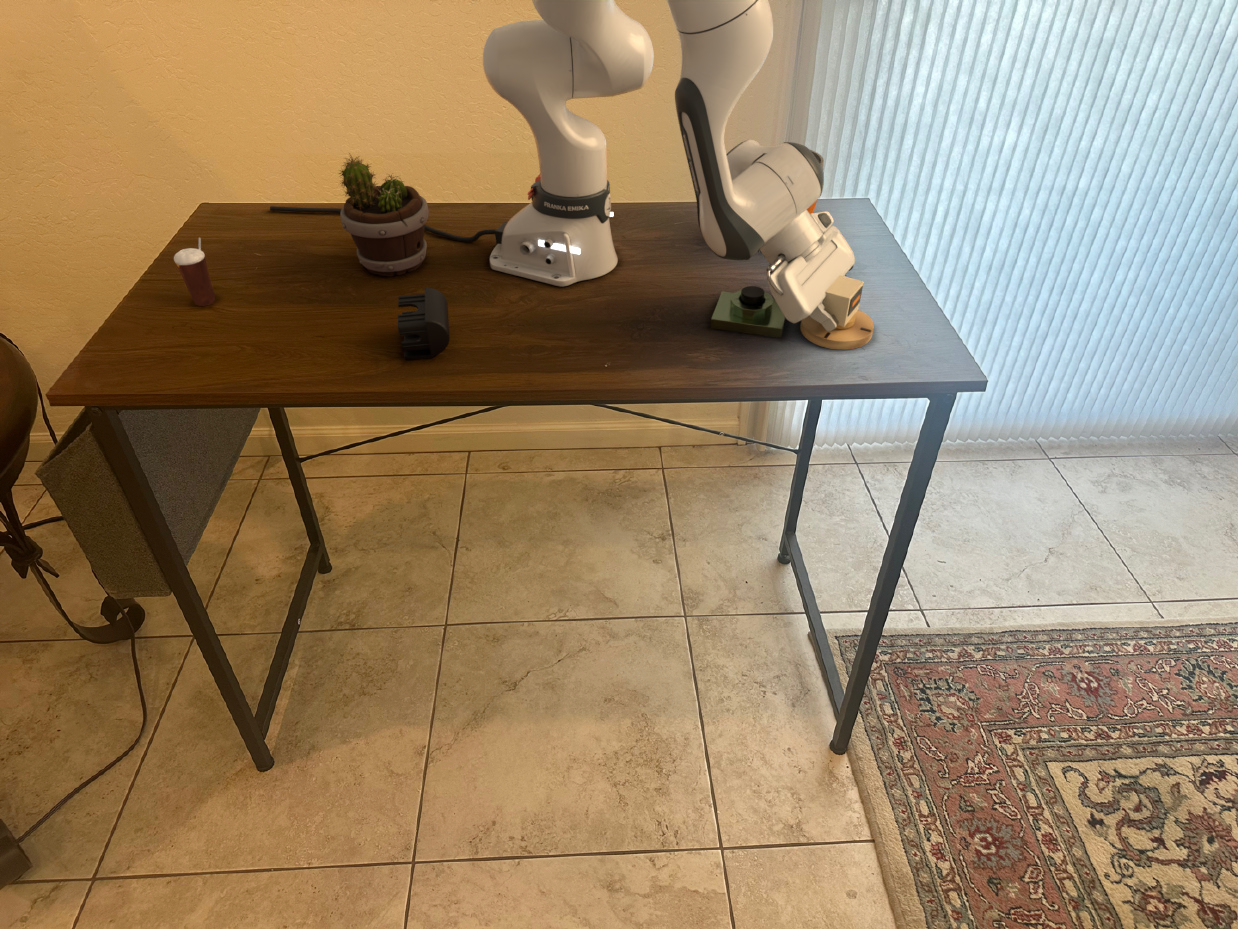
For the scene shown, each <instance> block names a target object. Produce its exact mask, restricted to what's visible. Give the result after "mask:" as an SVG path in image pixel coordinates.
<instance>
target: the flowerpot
mask: <svg viewBox="0 0 1238 929" xmlns="http://www.w3.org/2000/svg"><path fill="white" fill-rule="evenodd" d="M348 155H349V158H347V157H344V159H345V161H343V165H341V167H340V169H339V172H337V174H339V177H338V178H340V179H342V180H340V182H339V185H340V187H342V189H345V191H344V193H343V194H342V195H345V196H344V197H347V199H346V200H345V203H344V204H343V206H342V208H340V209H341V213H339V214H340V215H339V216H340V222H341V226H342V228H343V229H344V231H346V233H349V234H350V237H351V238H352V240H353V242H354V244H355V246H356V248H357V249H356V256H357V258H358V261H359V264H361V266H363V267H364V268H366V270H367V271H368V272H370V273H372V274H374V275H379V276H381V277H393V276H402V275H405V274H406V273H407V272H409V273H411V272H413V271H415V270H417V269H418V268H420V266H422V265H423V262H424V260H425V259H426V256H427V250H428V249H427V248H428V244H427V241H426V240H425V238H424V237H425V230H424V229H425V225H426V223H427V222H428V219H429V216H430V211H429V205H428V201H427V200H426V199H425V197H423V196H422V195H420V193H419V191H418V190H417V189H415V188H414V187H413V186H410V185H405V184H404V183H405V181H403V180H402V179H401V177H400V175H397V176H395V175H394V176H393V174H389V173H387V176H385V178H384V179H382V181H384V182H383V183H382V184H381V185H379V183H376V181H377V180H375V181H373V180H374V179H376V175H377V173H375V172H374V171H375V170H372V169H370V168H372V166H371V163H368V164H364V163H363V161H364V158H363V159H362V158H360V157H361V155H358V156H355V157H353V156H352V154H351V153H350V152H348ZM359 158H360V159H359ZM342 167H344V168H342ZM389 178H390V179H389Z"/></svg>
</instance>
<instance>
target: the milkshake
mask: <svg viewBox="0 0 1238 929" xmlns="http://www.w3.org/2000/svg"><path fill="white" fill-rule="evenodd" d="M173 261H174V263H175V266H176V267H177V269H178V271H179V273H180V275H181V278H182V280H183V282H184V284H185V287H186V288H187V291H188V293H189V295H190V297H191V300H192V301H193V304H195V305H196V306H197V307H208V306H211V305H213V304H214V303H216V295H215V294H216V293H215V290H214V286H213V282H212V279H211V276H210V272H209V268H208V264H207V260H206V255H205V252H204V251H203V250H202V238H201V237H198V248H193V247H189V248H183V249H181V250H179V251H178V252H176V253H175V254H174V255H173Z"/></svg>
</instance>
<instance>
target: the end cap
mask: <svg viewBox="0 0 1238 929" xmlns="http://www.w3.org/2000/svg"><path fill="white" fill-rule="evenodd" d="M397 301H398V302H397V306H398V308H409V307H412V308H416V310H411V311H403V312H401V314H400V313H399V314H397V330H398V335H399V336H400V337H402V336H403V340H402V341H401V342H400V346H401V350H402V353H403V358H404V360H406V361H415V360H425V359H426V360H427V359H432V358H435V357H437V356H439V355H440V354H441V353H442V352H443V351H445V350H446V349H447V347H448V345H449V343H450V323H449V321H450V320H449V303H448V300H447V298H446V296H445V295H444V294H443V293H442V292H441V291H439V290H437V289H435V288H432V287H424V293H419V294H410V295H409V294H408V295H398V299H397Z"/></svg>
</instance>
